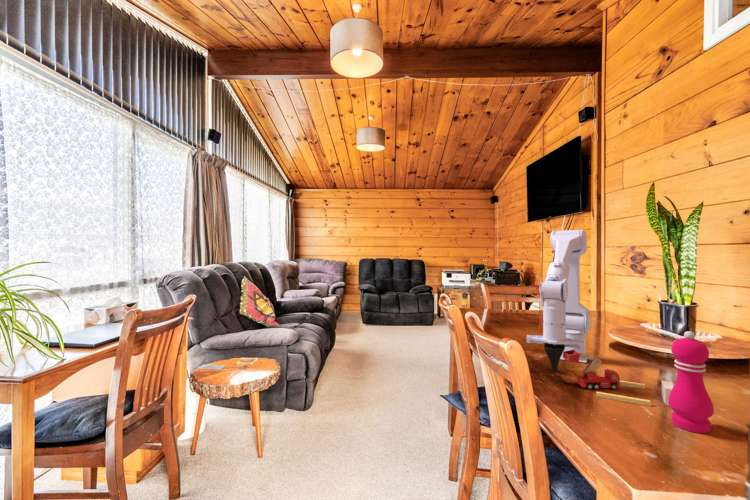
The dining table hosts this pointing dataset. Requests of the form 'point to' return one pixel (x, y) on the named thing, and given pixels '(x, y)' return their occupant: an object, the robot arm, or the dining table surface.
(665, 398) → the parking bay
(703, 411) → the pepper mill
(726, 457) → the dining table surface
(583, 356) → the toy fire truck
